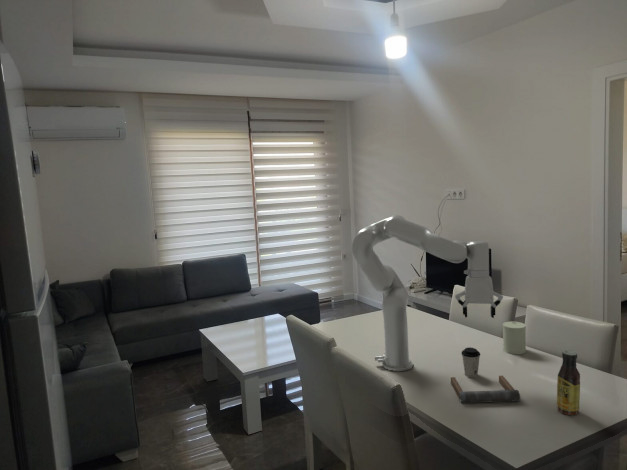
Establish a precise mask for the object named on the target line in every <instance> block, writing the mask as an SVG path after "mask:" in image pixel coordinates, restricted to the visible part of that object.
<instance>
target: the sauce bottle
mask: <svg viewBox="0 0 627 470" xmlns="http://www.w3.org/2000/svg"><path fill="white" fill-rule="evenodd" d="M561 356H562V364H561V366H560V368H559V371H558V373H557V384H556V386H557V388H556V407H557V410H558V411H559V413H562V414H564V415H566V416H576V415H578V414H579V413H580V412H579V410H580V397H581V396H580V395H581V374H580V371H579V369H578V368H577V359H578V353H577V351H574V350H568V349H566V350H563V351H562V353H561Z"/></svg>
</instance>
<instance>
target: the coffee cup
mask: <svg viewBox="0 0 627 470" xmlns="http://www.w3.org/2000/svg"><path fill="white" fill-rule="evenodd" d="M461 356H462V363H463V370H464V375H465V376H466V377H468V378H477V377H478V373H479V365H480V357H481V352H480V351H479V350H478V349H477V348H475V347H466V348H464V349H463V350H462V351H461Z"/></svg>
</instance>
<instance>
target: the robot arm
mask: <svg viewBox="0 0 627 470" xmlns="http://www.w3.org/2000/svg"><path fill="white" fill-rule="evenodd" d="M390 239H395V240H398V241H400V242H403V243H405V244H408V245H410V246H414V247H416V248H418V249H419V250H422V251H423V252H426V253H429V255H432V256H434V257H436V258H440V259H442V260H445V261H447V262H449V263H453V264H460V263H462V262H464V261H465V260H466V259H467V268H466V269H465V270H463V274H464V275H467V276H466V277H465V284H464V290H463V291H461V292H459V293H457V294H455V295H454V297H455V299H456V301H457V303H458V304H459V305H460V306H461V307H462V315H464V317H465V318H468V305H469V304H479V305H480V304H485V305H487V304H488V305H490V317H491V318H492V319H495V316H496V308H497V306H499V305H500V304H501V302H502V300H503V299H504V296H503V295H502V294H500V293H498V292H496V291H494V286H493V279H492V276H490V261H489V260H490V254H489V253H490V245H489V243H488V242H487V241H485V240H472V241H468V240H459V239H455V240H449V239H446V238H443V237H442V236H440V235H437V234H436V233H435V232H433V231H432V230H431V229H429V228H428V227H425V226H423V225H420V224H417V223H415V222H412V221H409V220H407V219H406V218H405V217H404V216H402V215H399V214H393V215H390V216H389V217H386V218H384V219H382V220H380V221H377V222H375V223H372V224H369V225H367V226H365V227H363V228H361V229H360V230H359V231H358V232H357V233H356V235H354V237H353V240H352V243H351V250H352V254H353V258H354V259H355V260H356V263H357V264H358V265H359V268H360V269H361V270H362V272H363V274H364V275H365V277H366V279H367V280H368V283H370V285H371V287H372V288H373V290H375V291H376V292H381V293H383V295H384V297H383V299H382V302H381V303H382V305H381V308H382V316H383V330H384V350H385V352H384V353H383V354H382V355H374V361H376V362H378V363H381V364H382V368H384V369H385V370H387V369H388V371H391V370H393V371H392V372H406V371H408V370H411V369H412V368H413V366H414V362H413V361H412V360H411V359H410V355H409V354H410V351H409V330H408V329H409V327H408V314H407V313H408V312H407V306H408V304H409V301H410V300H409V299H410V295H409V292H408V290H407V288H406V287H405V285H404V283H403V282H402V281H401V279H400V277H399V276H398V274H397V273H396V271H395V270H394V269H393V268H392V267H391V266H389V265H386V264H383V263H382V261H381V259H380V258H379V256H378V255H377V254H376V252H375V250H374V246H376V245H377V244H379V243H382V242H384V241H386V240H390ZM461 297H464V300H462V299H461ZM495 297H497V299H496V300H495V301H494V299H495Z"/></svg>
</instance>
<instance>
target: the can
mask: <svg viewBox="0 0 627 470" xmlns="http://www.w3.org/2000/svg"><path fill="white" fill-rule="evenodd" d="M526 327H527V325H526V324H525V323H523V322H520V321H512V320H511V321H505V322H503V323H502V338H503V339H502V341H503V342H502V343H503V344H502V350H503V351H504V352H505V353H507V354H512V355H523V354H526V352H527V349H526V348H527V347H526V344H527V343H526V339H527V338H526V335H527V333H526V332H527V331H526V330H527V329H526Z"/></svg>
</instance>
